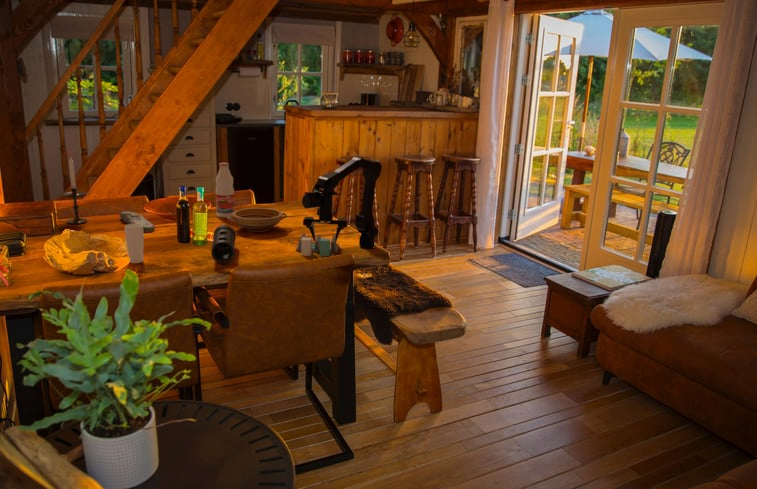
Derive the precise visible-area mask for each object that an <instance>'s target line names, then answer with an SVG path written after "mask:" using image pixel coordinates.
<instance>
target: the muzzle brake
mask: <svg viewBox="0 0 757 489" xmlns="http://www.w3.org/2000/svg"><path fill="white" fill-rule="evenodd" d="M236 234H237V233H236V231H235V229H234V228H233V227H232V226H230V225H229V224H228V225H227V224H221V225H219V226H217V227H216V228H215V229H214V231H213V236H212V245H211V252H210V254H211V257H212V259H213V260H214V261H215V262H217V263H220V264H221V265H222V266H225V265H226V264H227V263H229V262H231V261H232V260H233V258H234V256H235V246H236V245H235V244H236V239H237V238H236V237H237V235H236Z"/></svg>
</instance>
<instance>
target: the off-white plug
mask: <svg viewBox="0 0 757 489" xmlns="http://www.w3.org/2000/svg"><path fill="white" fill-rule="evenodd" d="M312 239H313V237H306V238H305V237H302V239H301V252H300V256H301V257H302V256H303V257H304V256H307V257H311V256H312V253H313V252H312V243H313V242H312V241H313V240H312Z"/></svg>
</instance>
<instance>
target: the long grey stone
mask: <svg viewBox="0 0 757 489" xmlns="http://www.w3.org/2000/svg"><path fill="white" fill-rule="evenodd" d="M119 218H120V219H121V220H122V221H123V222H124V223H126V224H127V225H128V224H141V225H143V233H151V232H154V231H155V228H156V227H155V225H154V224H153V223H151V221H150V220H148V219H147V218H146V217H145V216H144V215H142V214H140V213H137V212H133V211H127V210H126V211H122V212H120V213H119Z"/></svg>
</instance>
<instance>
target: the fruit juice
mask: <svg viewBox="0 0 757 489" xmlns="http://www.w3.org/2000/svg"><path fill="white" fill-rule="evenodd" d="M218 166H219V170H218V172H217V175H216V177H215V184H216V187H215V212H216V216H217V217H218V218H222V219H223V218H224V219H225V218H227V217H228V216H231V217H233V215H232V213H233V212H235V211H236V210H235V189H234V185H233V184H234V176H232V173H231V171H230V168H229V167H230V164H229V163H228V162H220V163H218Z"/></svg>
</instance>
